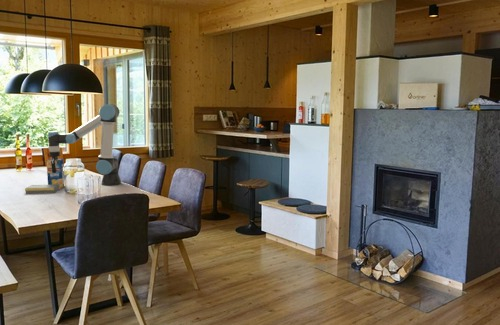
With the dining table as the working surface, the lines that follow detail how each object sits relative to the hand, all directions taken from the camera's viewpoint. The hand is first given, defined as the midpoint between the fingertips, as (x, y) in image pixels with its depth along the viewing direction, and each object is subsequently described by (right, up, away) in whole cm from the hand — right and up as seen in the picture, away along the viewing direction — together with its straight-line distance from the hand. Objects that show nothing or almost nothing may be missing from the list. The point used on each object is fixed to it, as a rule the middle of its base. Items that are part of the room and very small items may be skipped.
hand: (56, 181), depth 349 cm
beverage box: (0, -5, +1) cm, 5 cm away
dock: (-3, -7, -16) cm, 18 cm away
